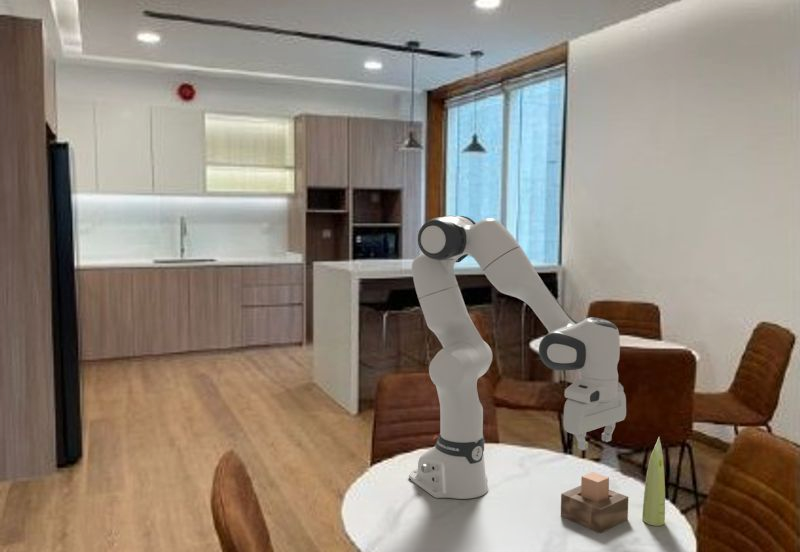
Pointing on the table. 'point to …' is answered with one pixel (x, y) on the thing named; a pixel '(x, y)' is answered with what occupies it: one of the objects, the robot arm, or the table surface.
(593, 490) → the peg
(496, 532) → the table surface
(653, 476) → the tube
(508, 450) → the table surface
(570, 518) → the socket block
